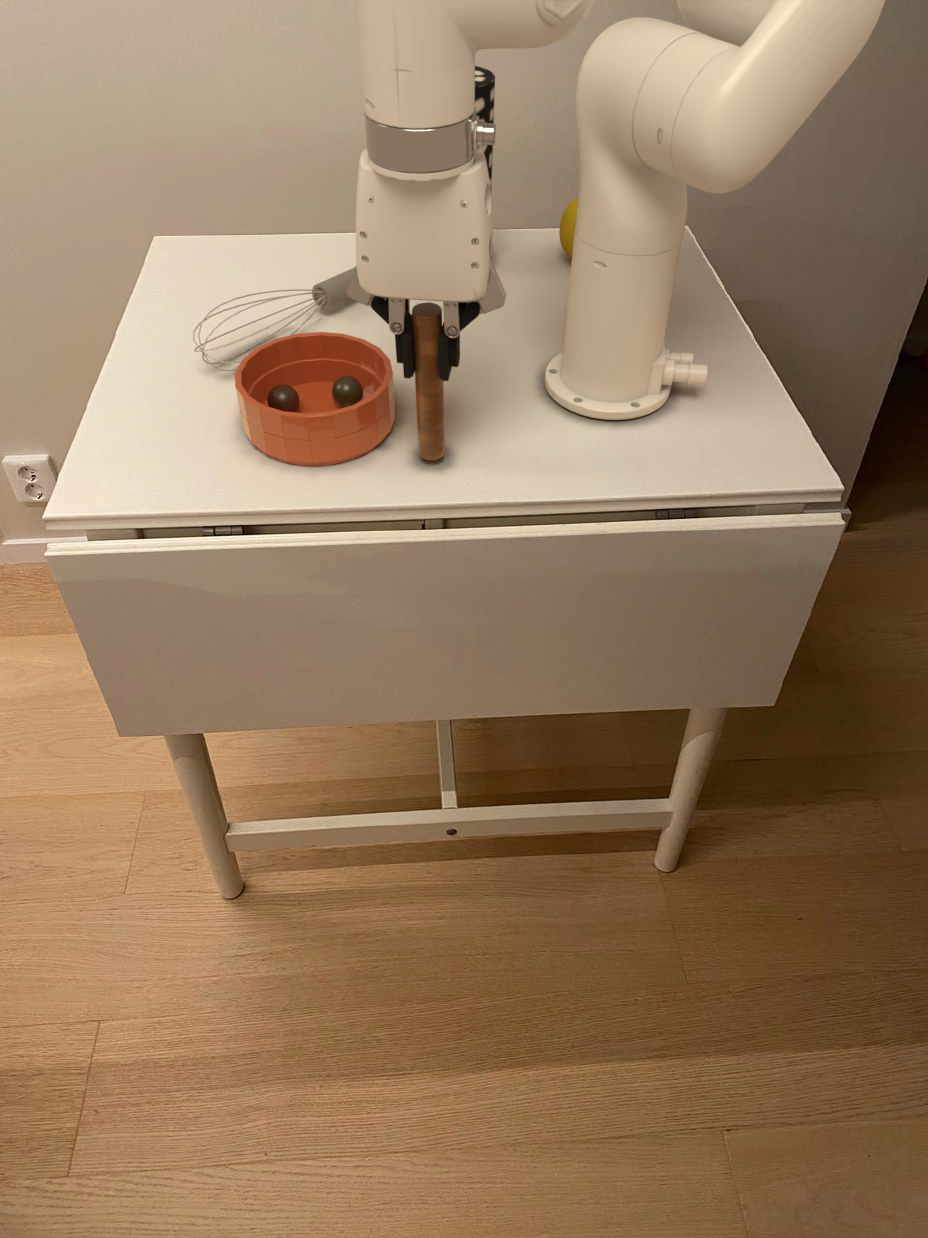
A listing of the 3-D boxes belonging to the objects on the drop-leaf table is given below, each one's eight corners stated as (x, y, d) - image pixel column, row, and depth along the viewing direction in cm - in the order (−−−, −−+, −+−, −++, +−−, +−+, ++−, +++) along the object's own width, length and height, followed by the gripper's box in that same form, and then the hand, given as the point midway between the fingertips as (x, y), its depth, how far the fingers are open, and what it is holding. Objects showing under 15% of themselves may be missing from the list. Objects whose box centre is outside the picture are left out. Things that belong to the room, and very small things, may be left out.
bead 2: (367, 398, 90) (365, 371, 88) (360, 415, 88) (358, 388, 85) (337, 395, 90) (334, 368, 88) (330, 413, 88) (327, 385, 86)
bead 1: (304, 406, 89) (301, 379, 86) (296, 424, 87) (292, 397, 84) (274, 404, 89) (270, 376, 87) (265, 421, 87) (261, 394, 85)
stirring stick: (446, 445, 84) (443, 303, 74) (442, 461, 83) (439, 318, 72) (420, 443, 84) (414, 301, 74) (416, 459, 83) (409, 316, 73)
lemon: (550, 253, 113) (556, 187, 107) (593, 249, 114) (601, 182, 108) (564, 274, 109) (571, 206, 103) (608, 269, 110) (617, 202, 104)
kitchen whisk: (438, 268, 110) (437, 215, 105) (228, 394, 91) (216, 336, 87) (399, 254, 112) (396, 201, 108) (186, 373, 94) (172, 316, 89)
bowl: (406, 388, 92) (404, 338, 88) (378, 474, 82) (374, 423, 78) (268, 376, 93) (260, 326, 89) (224, 460, 84) (213, 408, 80)
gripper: (540, 123, 66) (527, 353, 79) (320, 113, 67) (345, 341, 81) (531, 165, 61) (519, 403, 74) (294, 153, 62) (325, 388, 76)
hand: (428, 369), depth 77 cm, fingers closed on stirring stick, 2 cm apart
